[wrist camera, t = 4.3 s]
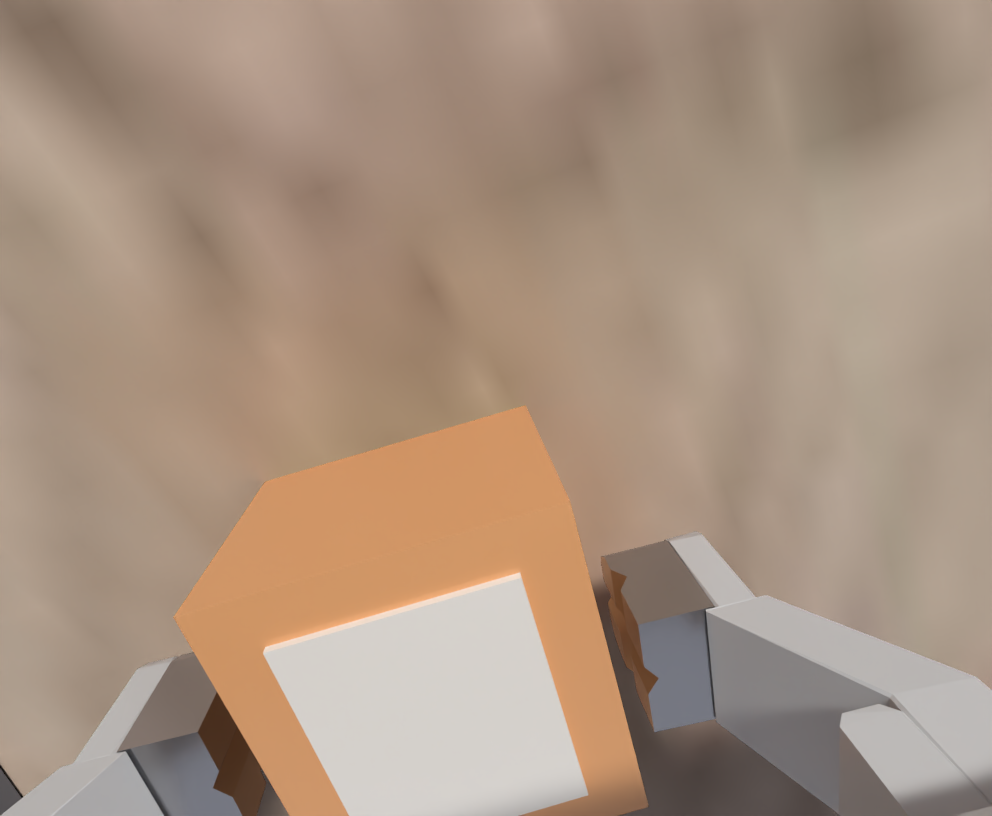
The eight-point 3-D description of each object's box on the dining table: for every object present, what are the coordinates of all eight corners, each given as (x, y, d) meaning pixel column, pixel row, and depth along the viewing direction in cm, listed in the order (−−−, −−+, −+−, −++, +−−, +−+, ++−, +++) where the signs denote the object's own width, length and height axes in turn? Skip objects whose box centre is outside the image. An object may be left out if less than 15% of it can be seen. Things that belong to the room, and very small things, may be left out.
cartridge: (268, 477, 9) (169, 623, 6) (523, 402, 9) (571, 505, 6) (368, 695, 11) (336, 907, 8) (586, 631, 11) (651, 814, 8)
